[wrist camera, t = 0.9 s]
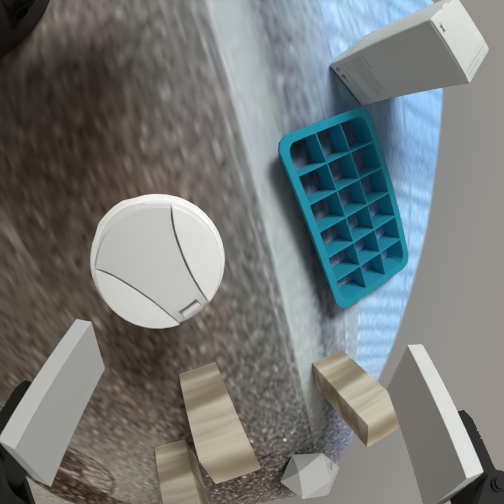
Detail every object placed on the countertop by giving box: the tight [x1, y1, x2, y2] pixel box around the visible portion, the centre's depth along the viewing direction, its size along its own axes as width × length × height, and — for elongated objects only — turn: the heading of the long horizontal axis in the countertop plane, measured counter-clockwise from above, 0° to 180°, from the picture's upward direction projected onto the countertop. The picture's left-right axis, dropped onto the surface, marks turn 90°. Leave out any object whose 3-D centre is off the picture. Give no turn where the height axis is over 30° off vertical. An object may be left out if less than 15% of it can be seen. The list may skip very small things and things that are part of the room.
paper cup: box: [90, 194, 225, 328], centre depth 22 cm, size 8×8×14 cm
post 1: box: [155, 439, 209, 504], centre depth 30 cm, size 5×4×13 cm
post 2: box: [179, 362, 261, 484], centre depth 29 cm, size 5×4×13 cm
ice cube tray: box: [278, 108, 408, 308], centre depth 33 cm, size 12×20×3 cm, turn 24°
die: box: [280, 453, 339, 499], centre depth 41 cm, size 8×9×10 cm
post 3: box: [312, 349, 399, 447], centre depth 34 cm, size 5×4×13 cm
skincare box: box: [330, 0, 489, 105], centre depth 24 cm, size 8×7×16 cm
